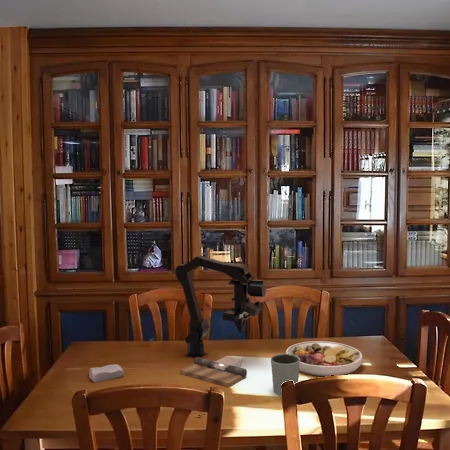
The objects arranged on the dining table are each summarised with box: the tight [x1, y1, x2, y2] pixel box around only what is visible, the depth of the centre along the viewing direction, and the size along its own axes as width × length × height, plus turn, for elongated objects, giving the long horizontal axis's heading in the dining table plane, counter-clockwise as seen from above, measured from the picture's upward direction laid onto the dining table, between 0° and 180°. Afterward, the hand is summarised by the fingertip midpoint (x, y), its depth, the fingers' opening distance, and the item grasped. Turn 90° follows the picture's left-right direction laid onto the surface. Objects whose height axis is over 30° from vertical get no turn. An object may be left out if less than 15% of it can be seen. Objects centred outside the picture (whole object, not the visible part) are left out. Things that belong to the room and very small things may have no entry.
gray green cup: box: [270, 353, 300, 396], centre depth 178 cm, size 10×10×12 cm
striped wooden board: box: [179, 357, 248, 388], centre depth 194 cm, size 23×12×4 cm, turn 55°
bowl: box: [285, 340, 363, 377], centre depth 204 cm, size 30×30×8 cm
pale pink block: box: [210, 355, 243, 372], centre depth 201 cm, size 7×11×4 cm, turn 142°
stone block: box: [88, 363, 125, 383], centre depth 195 cm, size 12×5×10 cm
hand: (240, 332), depth 209 cm, fingers closed
